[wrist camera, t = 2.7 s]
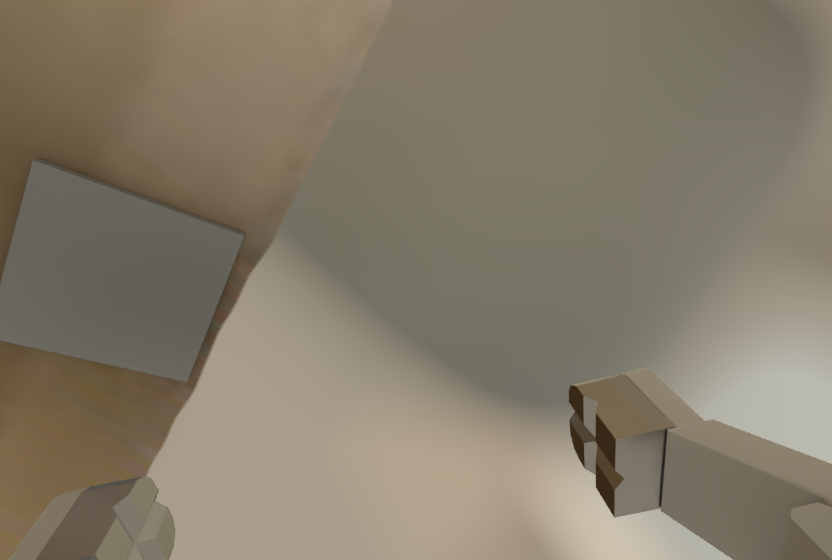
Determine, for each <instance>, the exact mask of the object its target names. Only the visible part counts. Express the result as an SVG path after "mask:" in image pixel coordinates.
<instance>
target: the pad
mask: <svg viewBox="0 0 832 560" xmlns="http://www.w3.org/2000/svg"><path fill="white" fill-rule="evenodd" d="M244 236H245V233H243V232H240V231H238V230H235V229H232V228H229V227H227V226H224V225H221V224H218V223H216V222H213V221H210V220H207V219H204V218H202V217H199V216H196V215H193V214H191V213H188V212H185V211H182V210H180V209H177V208H174V207H171V206H169V205H166V204H163V203H160V202H158V201H155V200H152V199H149V198H147V197H144V196H141V195H138V194H135V193H133V192H130V191H127V190H124V189H122V188H119V187H116V186H113V185H111V184H108V183H105V182H102V181H100V180H97V179H94V178H91V177H89V176H86V175H83V174H80V173H78V172H75V171H72V170H69V169H67V168H64V167H61V166H58V165H55V164H53V163H50V162H47V161H44V160H42V159H39V158H38V159H35V160H33V161H32V165H31V169H30V172H29V176H28V180H27V184H26V188H25V191H24V195H23V199H22V203H21V206H20V210H19V214H18V218H17V222H16V225H15V229H14V233H13V237H12V240H11V244H10V248H9V252H8V256H7V259H6V263H5V267H4V271H3V274H2V278H1V282H0V341H4V342H8V343H13V344H17V345H22V346H26V347H31V348H35V349H40V350H44V351H49V352H53V353H57V354H62V355H66V356H71V357H75V358H80V359H84V360H89V361H93V362H98V363H102V364H107V365H111V366H116V367H120V368H125V369H129V370H134V371H138V372H143V373H147V374H152V375H156V376H161V377H165V378H170V379H174V380H179V381H183V382H187V381H188V379H189V376H190V374H191V371H192V369H193V366H194V364H195V361H196V358H197V356H198V353H199V351H200V348H201V346H202V343H203V341H204V338H205V335H206V333H207V330H208V328H209V325H210V323H211V320H212V318H213V315H214V312H215V310H216V307H217V305H218V302H219V300H220V297H221V295H222V292H223V290H224V287H225V284H226V282H227V279H228V277H229V274H230V272H231V269H232V267H233V264H234V261H235V259H236V256H237V254H238V251H239V249H240V246H241V244H242V241H243V238H244Z"/></svg>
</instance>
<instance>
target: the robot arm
mask: <svg viewBox="0 0 832 560" xmlns="http://www.w3.org/2000/svg"><path fill="white" fill-rule="evenodd" d="M569 403H570V404H571V406H572V407H573V409H574V410H575V413H574V414H573V416H572V417H571V419H570V433H571V438H572V442H573V445H574V449H575V451H576V453H577V455H578V457H579V459H580V461H581V463H582V464H583V466H584V468H585V469H586V470H588V471H590V472H592V473H594V474H596V488H597V490H598V491H599V493H600V495H601V496H602V498H603V499H604V501H605V503H606V504H607V506H608V508H609V509H610V511H611V513H612V514H613V516H614V517H619V516H624V515H629V514H634V513H640V512H644V511H650V510H655V509H660V508H661V511H662V512H664V513H665V514H666V515H668V516H669V517H671V518H672V519H674V520H675V521H677V522H678V523H680V524H681V525H683V526H684V527H686V528H687V529H689V530H690V531H692V532H693V533H695V534H696V535H698V536H699V537H701V538H702V539H704V540H705V541H707V542H708V543H710V544H711V545H713V546H714V547H716V548H717V549H718V550H720V551H722V552H723V553H724V554H726V555H727V556H729V557H731V558H732V559H733V560H832V464H830V463H827V462H825V461H822V460H819V459H817V458H814V457H811V456H809V455H806V454H803V453H801V452H798V451H795V450H792V449H790V448H787V447H785V446H782V445H779V444H777V443H774V442H771V441H768V440H766V439H763V438H761V437H758V436H755V435H753V434H750V433H747V432H745V431H742V430H739V429H737V428H734V427H731V426H729V425H726V424H723V423H721V422H718V421H715V420H708V421H704V420H703V419H702V418H701V417H700V416H699V415H698V414H697V413H696V412H694V411H693V410H692V409H691V408H690V407H689V406H688V405H687V404H686V403H685V402H684V401H683V400H682V399H681V398H680V397H679V396H678V395H676V394H675V393H674V392H673V391H672V390H671V389H670V388H669V387H668V386H667V385H666V384H665V383H664V382H663V381H662V380H661V379H660V378H659V377H657V376H656V375H655V374H654V373H653V372H652V371H651V370H649V369H647V368H642V369H637V370H633V371H629V372H625V373H620V374H619V375H614V376H610V377H605V378H600V379H596V380H591V381H587V382H582V383H578V384H573V385H570V389H569ZM158 491H159V490H158V489H157V487H156V485H155V484H154V482H153V480H152V479H151V478H148V477H139V478H133V479H128V480H123V481H118V482H112V483H107V484H102V485H97V486H91V487H89V488H83V489H78V490H73V491H68V492H63V493H61V494H60V495H58V496H56V497H55V498H53V499H52V500H51V502H50V503H49V504H48V506H47V507H46V509H45V510H44V511H43V513H42V514H41V515H40V517H39V518H38V519H37V521H36V522H35V523H34V525H33V526H32V528H31V529H30V530H29V532H28V533H27V534H26V536H25V537H24V538H23V540H22V541H21V542H20V544H19V545H18V546H17V548H16V549H15V551H14V552H13V553H12V555H11V556H10V557H9V559H8V560H169V558H170V555H171V552H172V550H173V547H174V537H175V526H174V521H173V517H172V515H171V513H170V511H169V509H168V507H166V506H164V505H162V504H160V503H158V502H156V501H155V499H156V497H157V494H158Z"/></svg>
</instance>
